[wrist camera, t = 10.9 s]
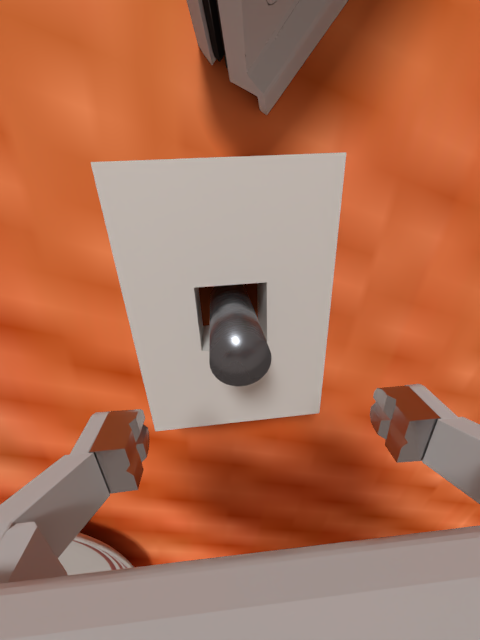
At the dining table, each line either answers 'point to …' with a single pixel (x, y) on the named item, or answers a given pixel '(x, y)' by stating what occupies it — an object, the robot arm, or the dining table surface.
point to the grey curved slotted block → (262, 39)
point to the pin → (236, 338)
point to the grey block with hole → (225, 274)
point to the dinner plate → (91, 556)
